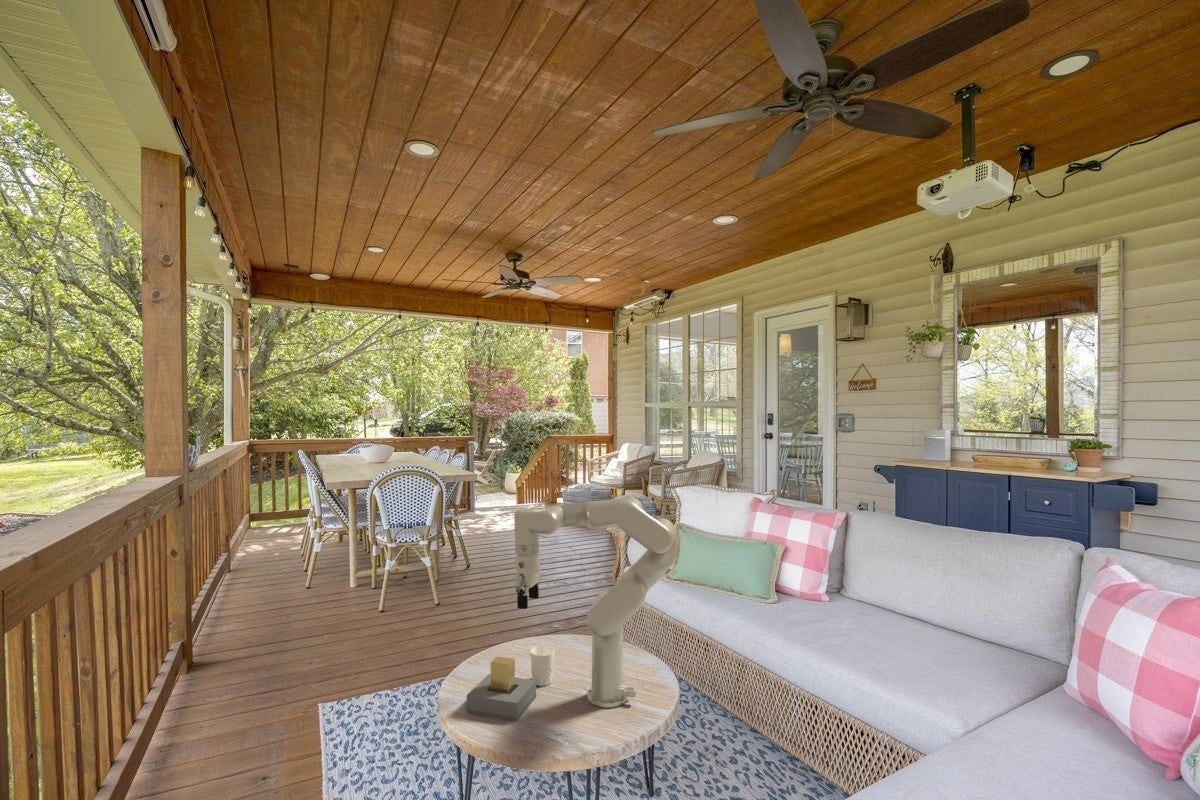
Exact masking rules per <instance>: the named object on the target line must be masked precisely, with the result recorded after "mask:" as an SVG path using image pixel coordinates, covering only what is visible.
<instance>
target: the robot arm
mask: <svg viewBox="0 0 1200 800" xmlns="http://www.w3.org/2000/svg"><path fill="white" fill-rule="evenodd" d="M643 507H644V506H643V504H642V502H641V501H640V500H639V499H637V498H635V497H621V498H613V499H606V500H605V499H604V500H596V501H586V502H585V501H584V502H572V503H565V504H556V505H551V506H548V507H546V508H545V509H542V510H541V511H537V510H536V509H534V508H521V509H517V510H516V511H515V512H514V521H513V522H514V554H515V556H516V561H515V562H516V563H515V564H516V565H515V567H516V570H515V590H516V591H515V592H516V597H517V599H516V600H517V603H516V604H517V605H516V606H517V609H521V610H522V609H523V610H527V609H528V607H529V600H528V598H529V599H535V600H536V599H539V596H540V595H539V593H540V592H539V583H540V580H541V562H540V555H539V553H540V547H539V545H540V540H539V537H540V536H539V534H540V535H546V536H547V535H552V534H554V533H555V532H557V530H559V529H561V528H568V527H569V528H570V527H580V526H581V527H585V528H586V527H587V528H589V529H591V530H601V529H607V528H608V529H609V528H616V527H618V528H619V529H620V530H621V531H622V532H624V533H625V534H626V535H627V536H629V537H630V538H631V539H632V540H634V541H636V542H637V543H638V544H640V545H641V546H643V547H644V548H645V549H647V550H645V552H644V553H643V555H641V556H640V557H639V558H638V560H637V561H636V562H634V563H633V564H632V565H631V566H630V567H629V568H628V569H627V570H626V571H625V572H623V573H622V574H621V575H620V576H619V577H618V579H617V580H616V582H615V584H614V585H613V587H612V588H611V589H610V590H608V591H603V592H601V593H599V594H598V595H597V596H596V597H595V598H594V600H593V601H592V604H591V605H590V608H589V610H588V612H587V616H586V623H587V626H588V629H589V631H590V632H591V687H590V688H588V689H587V692H586V700H587V701H588V702H589V703H590V704H591V705H593V706H596V707H598V708H606V709H607V708H616V707H619V706H621V705H624V704H625V703H626V702H627V701H628V698H632V699H633V698H634V699H635V698H636V697H637V690H635V687H634V686H627V685H626V680H624V679H623V678H624V677H623V674H624V673H623V669H624V667H623V665H624V662H623V661H624V660H623V659H624V657H623V655H624V654H623V649H624V648H623V646H624V645H623V644H624V643H623V642H624V640H623V639H624V624H625V623H626V622H628V620H629V619H630V618H631V617H632V616H633V615H635V614H636V613H637V612H638V611H639V609H640V608H641V607H642V606H643V603H644V602H645V600H646V596H647V594H648V593H649V592H648V591H650V590H651V588H652V587H653V586H654V585H655V584H656V583H657V582H658V581H659V580H660V579H661V578H662V577H663V576H665V574H666V573H667V572H668V571H669V570H670V568H671V567H672V565H673V563H674V561H675V560H676V556H677V553H678V547H679V538H678V533H677V530H676V528H675V525H674V524H673V523H672V521H670V520H669V519H667V518H663V517H662V518H656V519H655V518H654V517H652V516H651V515H649V514H648V513H646V511H644V508H643ZM527 593H528V594H527Z"/></svg>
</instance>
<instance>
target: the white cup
mask: <svg viewBox="0 0 1200 800" xmlns="http://www.w3.org/2000/svg"><path fill="white" fill-rule="evenodd" d="M555 652H556V649H555V648H554V647H553V646H550V645H536V646H534V647H532V648H531V649H530V668H531V680H536V686H537V685H538V687H545V686H546V687H547V686H549V685H551V684H552V683H553V682H554V671H555V655H556V653H555Z"/></svg>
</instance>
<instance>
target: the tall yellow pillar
mask: <svg viewBox="0 0 1200 800" xmlns="http://www.w3.org/2000/svg"><path fill="white" fill-rule="evenodd" d="M515 673H516V658H510V657H503V656H496V657H495V658H494V659H492V660H491V661H490V674H491V691H492V692H499V693H505V694H511V693H512V692H513V691H514V690H515V678H516V674H515Z"/></svg>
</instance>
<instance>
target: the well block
mask: <svg viewBox="0 0 1200 800" xmlns="http://www.w3.org/2000/svg"><path fill="white" fill-rule="evenodd" d="M536 698H537V685H536V680H532V679H528V678H521V677H515V690H514V691H513V692H512V693H511V694H505V693H499V692H492V691H491V673H488V674H487V675H486V676H485V677H484V678H483V679H482V680H480V682H479V683H478V684H477V685H475V687H474V688H472V690H470V691H469V692H468V693H467V694H466V711H465V712H466V713H467V712H468V713H467V714H474V715H478V714H480V715H479V716H484V715H485V717H492V718H496V719H503V720H509V721H513V722H514V721H515V722H518V720H519V719H520V718H521V716H522V715H523V714H524V713H525V711H526V710H527V709H529V707H530V706H531V704H532V703H533V702H534V700H535V699H536Z"/></svg>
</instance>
